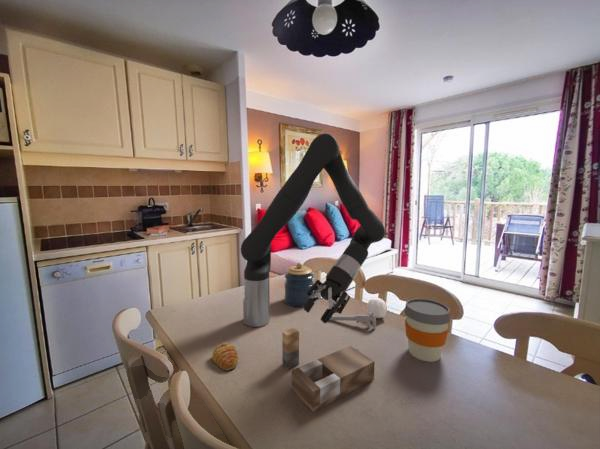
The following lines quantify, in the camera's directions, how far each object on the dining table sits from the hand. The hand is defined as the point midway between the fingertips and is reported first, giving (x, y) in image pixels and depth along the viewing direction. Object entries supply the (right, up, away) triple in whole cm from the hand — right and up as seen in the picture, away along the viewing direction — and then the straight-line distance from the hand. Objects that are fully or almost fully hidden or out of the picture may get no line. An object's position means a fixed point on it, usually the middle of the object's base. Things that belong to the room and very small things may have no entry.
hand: (313, 316), depth 83 cm
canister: (-4, -7, +42) cm, 43 cm away
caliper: (+14, -10, +22) cm, 28 cm away
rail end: (-7, -13, -3) cm, 15 cm away
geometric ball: (+26, -9, +27) cm, 39 cm away
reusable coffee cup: (+34, -12, +3) cm, 36 cm away
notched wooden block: (+5, -14, -11) cm, 18 cm away
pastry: (-26, -13, -1) cm, 29 cm away
